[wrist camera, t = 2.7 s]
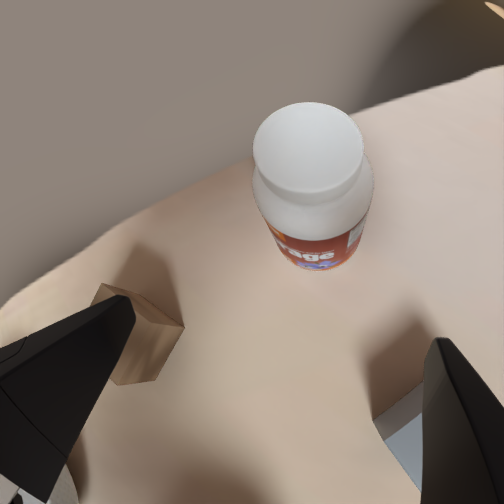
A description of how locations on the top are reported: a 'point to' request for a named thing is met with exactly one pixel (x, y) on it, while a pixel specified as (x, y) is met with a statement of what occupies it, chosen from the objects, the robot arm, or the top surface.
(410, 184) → the top surface
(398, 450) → the slate-grey cube
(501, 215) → the top surface
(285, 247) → the pill bottle
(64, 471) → the cereal bowl
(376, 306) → the top surface
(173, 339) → the walnut cube
